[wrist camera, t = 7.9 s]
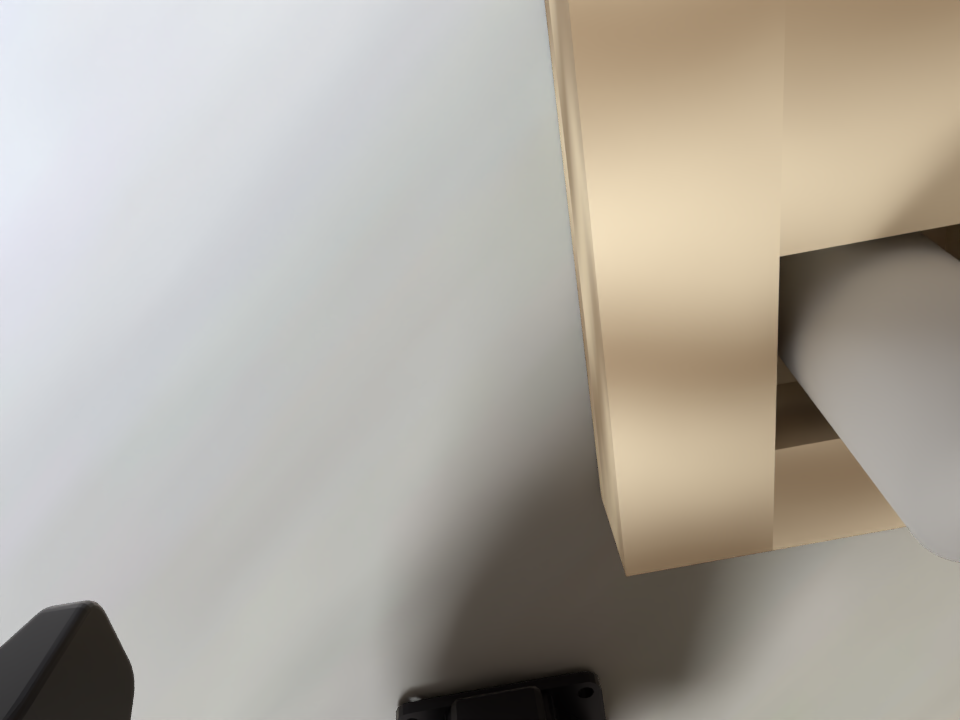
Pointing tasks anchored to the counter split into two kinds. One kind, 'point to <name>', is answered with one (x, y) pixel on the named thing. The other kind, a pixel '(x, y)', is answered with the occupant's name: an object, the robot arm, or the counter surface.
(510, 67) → the counter surface
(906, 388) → the grey plug
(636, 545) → the wooden socket board
